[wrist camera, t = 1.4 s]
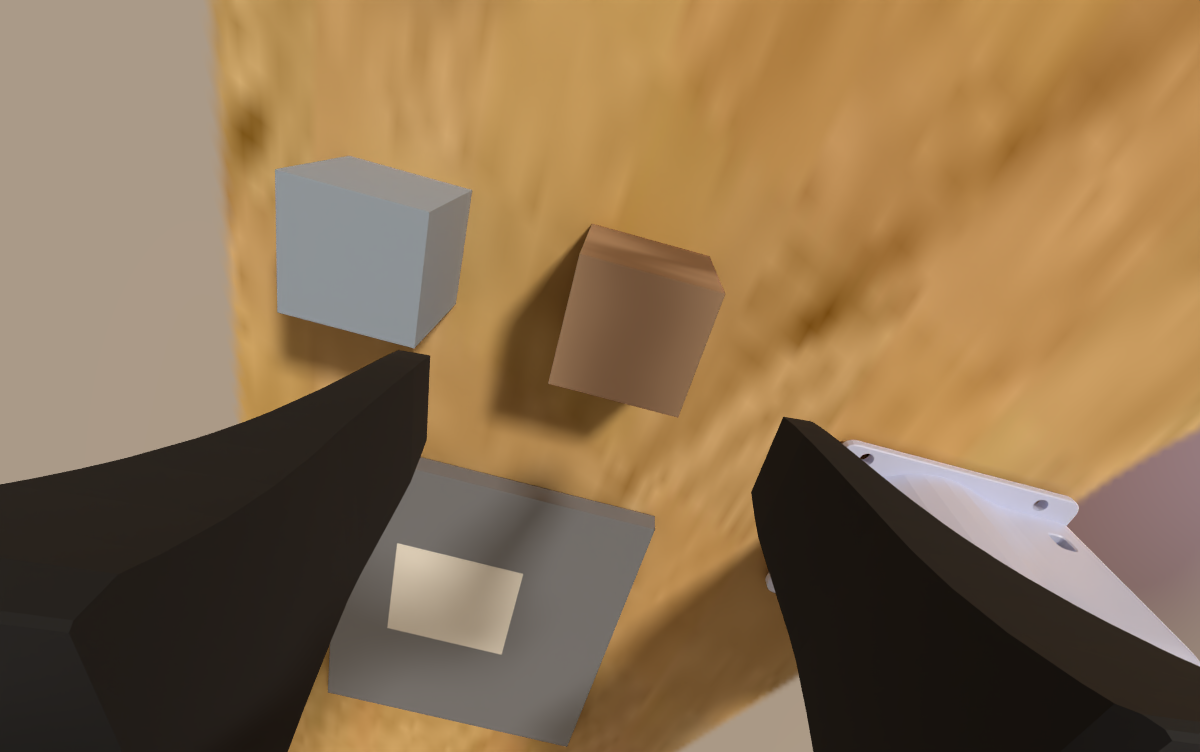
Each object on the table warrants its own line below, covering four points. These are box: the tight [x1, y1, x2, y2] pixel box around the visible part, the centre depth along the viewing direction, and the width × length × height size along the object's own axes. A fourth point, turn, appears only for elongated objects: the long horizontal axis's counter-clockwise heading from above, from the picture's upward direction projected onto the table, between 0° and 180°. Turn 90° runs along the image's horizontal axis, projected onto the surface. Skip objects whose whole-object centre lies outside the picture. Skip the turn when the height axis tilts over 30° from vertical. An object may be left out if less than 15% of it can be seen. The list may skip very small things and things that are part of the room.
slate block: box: [275, 156, 472, 348], centre depth 17 cm, size 4×4×4 cm
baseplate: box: [328, 457, 655, 747], centre depth 26 cm, size 13×16×1 cm
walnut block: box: [548, 224, 725, 417], centre depth 17 cm, size 4×4×4 cm
